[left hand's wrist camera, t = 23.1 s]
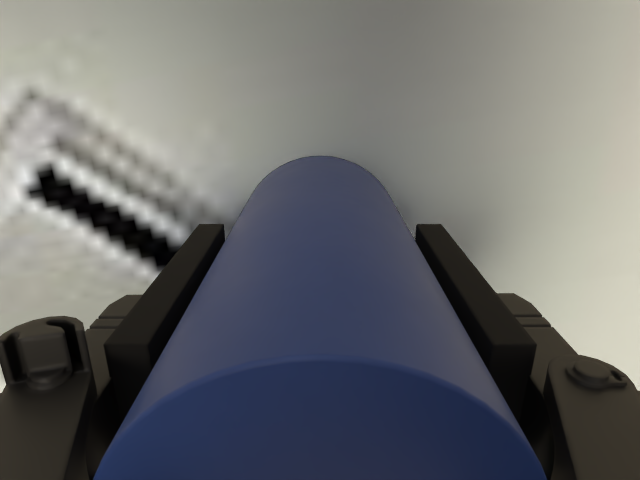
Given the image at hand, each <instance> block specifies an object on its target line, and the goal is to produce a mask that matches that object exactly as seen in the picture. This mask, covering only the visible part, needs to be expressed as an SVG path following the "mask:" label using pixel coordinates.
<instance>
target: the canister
mask: <svg viewBox="0 0 640 480" xmlns="http://www.w3.org/2000/svg"><path fill="white" fill-rule="evenodd" d="M93 480H547V478H546V475H545V473H544V470H543V468H542V465H541V463H540V461H539V459H538V458H537V456H536V454H535V452H534V451H533V449H532V447H531V445H530V443H529V442H528V440H527V438H526V436H525V435H524V433H523V431H522V429H521V428H520V426H519V424H518V422H517V420H516V419H515V417H514V415H513V413H512V412H511V410H510V408H509V406H508V405H507V403H506V401H505V399H504V397H503V396H502V394H501V392H500V390H499V389H498V387H497V385H496V383H495V382H494V380H493V378H492V376H491V374H490V373H489V371H488V369H487V367H486V366H485V364H484V362H483V360H482V359H481V357H480V355H479V353H478V351H477V350H476V348H475V346H474V344H473V343H472V341H471V339H470V337H469V336H468V334H467V332H466V330H465V328H464V327H463V325H462V323H461V321H460V320H459V318H458V316H457V314H456V313H455V311H454V309H453V307H452V305H451V304H450V302H449V300H448V298H447V297H446V295H445V293H444V291H443V290H442V288H441V286H440V284H439V282H438V281H437V279H436V277H435V275H434V274H433V272H432V270H431V268H430V267H429V265H428V263H427V261H426V259H425V258H424V256H423V254H422V252H421V251H420V249H419V247H418V245H417V244H416V242H415V240H414V238H413V236H412V235H411V233H410V231H409V229H408V228H407V226H406V224H405V222H404V221H403V219H402V217H401V215H400V213H399V212H398V210H397V208H396V206H395V205H394V203H393V201H392V199H391V197H390V196H389V194H388V193H387V191H386V189H385V188H384V187H383V185H382V184H381V183H380V182H379V181H378V180H377V179H376V178H375V177H374V176H373V175H372V174H371V173H369V172H368V171H366V170H365V169H364V168H362V167H360V166H358V165H356V164H354V163H352V162H350V161H347V160H344V159H340V158H335V157H328V156H311V157H305V158H300V159H297V160H294V161H291V162H288V163H286V164H284V165H282V166H280V167H278V168H277V169H275V170H274V171H272V172H271V173H270V174H269V175H267V176H266V177H265V178H264V179H263V180H262V181H261V182H260V183H259V185H258V186H257V187H256V188H255V190H254V192H253V193H252V195H251V196H250V198H249V200H248V202H247V203H246V205H245V207H244V209H243V210H242V212H241V214H240V216H239V217H238V219H237V221H236V223H235V225H234V226H233V228H232V230H231V232H230V233H229V235H228V237H227V239H226V240H225V242H224V244H223V246H222V248H221V249H220V251H219V253H218V255H217V256H216V258H215V260H214V262H213V263H212V265H211V267H210V269H209V270H208V272H207V274H206V276H205V278H204V279H203V281H202V283H201V285H200V286H199V288H198V290H197V292H196V293H195V295H194V297H193V299H192V301H191V302H190V304H189V306H188V308H187V309H186V311H185V313H184V315H183V316H182V318H181V320H180V322H179V323H178V325H177V327H176V329H175V331H174V332H173V334H172V336H171V338H170V339H169V341H168V343H167V345H166V346H165V348H164V350H163V352H162V354H161V355H160V357H159V359H158V361H157V362H156V364H155V366H154V368H153V369H152V371H151V373H150V375H149V377H148V378H147V380H146V382H145V384H144V385H143V387H142V389H141V391H140V392H139V394H138V396H137V398H136V399H135V401H134V403H133V405H132V407H131V408H130V410H129V412H128V414H127V415H126V417H125V419H124V421H123V422H122V424H121V426H120V428H119V430H118V431H117V433H116V435H115V437H114V438H113V440H112V442H111V444H110V445H109V447H108V449H107V451H106V452H105V454H104V456H103V458H102V460H101V462H100V464H99V467H98V469H97V471H96V473H95V476H94V478H93Z"/></svg>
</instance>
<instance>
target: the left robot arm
mask: <svg viewBox="0 0 640 480" xmlns="http://www.w3.org/2000/svg"><path fill="white" fill-rule="evenodd" d="M224 242H225V233H224V224H199V225H198V226H197V228H196V229H195V230H194V231H193V233H192V234H191V235H190V236H189V238H188V239H187V240H186V241H185V243H184V244H183V245H182V247H181V248H180V249H179V250H178V252H177V253H176V254H175V255H174V257H173V258H172V259H171V260H170V262H169V263H168V264H167V265H166V267H165V268H164V269H163V270H162V272H161V273H160V274H159V275H158V277H157V278H156V279H155V280H154V282H153V283H152V284H151V285H150V287H149V288H148V289H147V290H146V292H145V293H144V294H143V295H126V296H124V297H122V298H121V299H119V300H117V301H115V302H114V303H112V304H110V305H109V306H108V307H107V308H106V309H105V310H104V311H103V312H102V314H101V315H100V316H99V319H96V320H95V321H94V322H93V324H92V325H91V326H90V329H87V330H86V331H84V326H83V323H82V322H81V321H80V320H78V319H77V318H73V317H67V316H55V317H46V318H41V319H37V320H32V321H30V322H27V323H24V324H21V325H19V326H16V327H14V328H13V329H11V330H9V331H7V332H6V333H4V334H2V335H1V336H0V364H1V368H2V371H3V375H4V378H5V382H6V386H5V388H4V390H3V392H2V393H0V480H93V478H94V476H95V473H96V471H97V469H98V467H99V464H100V462H101V460H102V458H103V456H104V454H105V452H106V451H107V449H108V447H109V445H110V444H111V442H112V440H113V438H114V437H115V435H116V433H117V431H118V430H119V428H120V426H121V424H122V422H123V421H124V419H125V417H126V415H127V414H128V412H129V410H130V408H131V407H132V405H133V403H134V401H135V399H136V398H137V396H138V394H139V392H140V391H141V389H142V387H143V385H144V384H145V382H146V380H147V378H148V377H149V375H150V373H151V371H152V369H153V368H154V366H155V364H156V362H157V361H158V359H159V357H160V355H161V354H162V352H163V350H164V348H165V346H166V345H167V343H168V341H169V339H170V338H171V336H172V334H173V332H174V331H175V329H176V327H177V325H178V323H179V322H180V320H181V318H182V316H183V315H184V313H185V311H186V309H187V308H188V306H189V304H190V302H191V301H192V299H193V297H194V295H195V293H196V292H197V290H198V288H199V286H200V285H201V283H202V281H203V279H204V278H205V276H206V274H207V272H208V270H209V269H210V267H211V265H212V263H213V262H214V260H215V258H216V256H217V255H218V253H219V251H220V249H221V248H222V246H223V244H224ZM415 242H416V244H417V245H418V247H419V249H420V251H421V252H422V254H423V256H424V258H425V259H426V261H427V263H428V265H429V267H430V268H431V270H432V272H433V274H434V275H435V277H436V279H437V281H438V282H439V284H440V286H441V288H442V290H443V291H444V293H445V295H446V297H447V298H448V300H449V302H450V304H451V305H452V307H453V309H454V311H455V313H456V314H457V316H458V318H459V320H460V321H461V323H462V325H463V327H464V328H465V330H466V332H467V334H468V336H469V337H470V339H471V341H472V343H473V344H474V346H475V348H476V350H477V351H478V353H479V355H480V357H481V359H482V360H483V362H484V364H485V366H486V367H487V369H488V371H489V373H490V374H491V376H492V378H493V380H494V382H495V383H496V385H497V387H498V389H499V390H500V392H501V394H502V396H503V397H504V399H505V401H506V403H507V405H508V406H509V408H510V410H511V412H512V413H513V415H514V417H515V419H516V420H517V422H518V424H519V426H520V428H521V429H522V431H523V433H524V435H525V436H526V438H527V440H528V442H529V443H530V445H531V447H532V449H533V451H534V452H535V454H536V456H537V458H538V459H539V461H540V463H541V465H542V468H543V470H544V473H545V475H546V478H547V480H640V391H637V389H636V387H635V385H634V384H633V382H632V381H631V380H630V379H629V378H628V377H627V375H626V374H624V373H623V372H621V371H620V370H618V369H617V368H615V367H614V366H612V365H610V364H608V363H605V362H603V361H601V360H598V359H595V358H591V357H587V356H583V355H578V354H577V353H576V352H575V351H574V350H573V348H572V347H571V346H570V345H569V344H568V343H567V342H566V341H565V340H564V339H563V338H562V336H561V335H560V334H559V333H558V332H557V331H556V330H555V329H554V328H553V327H551V324H550V323H549V322H548V321H547V320H546V319H545V318H544V317H542V315H541V314H540V312H539V311H538V310H537V309H536V308H535V307H534V306H533V305H532V304H531V303H530V302H528V301H526V300H524V299H523V298H521V297H519V296H517V295H516V294H514V293H496V292H495V291H494V290H493V289H492V287H491V286H490V285H489V284H488V282H487V281H486V280H485V279H484V277H483V276H482V275H481V274H480V272H479V271H478V270H477V269H476V267H475V266H474V265H473V264H472V262H471V261H470V260H469V259H468V257H467V256H466V255H465V254H464V252H463V251H462V250H461V249H460V247H459V246H458V245H457V244H456V242H455V241H454V240H453V239H452V237H451V236H450V235H449V234H448V232H447V231H446V230H445V229H444V227H443V226H442V225H441V224H416V237H415Z"/></svg>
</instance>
